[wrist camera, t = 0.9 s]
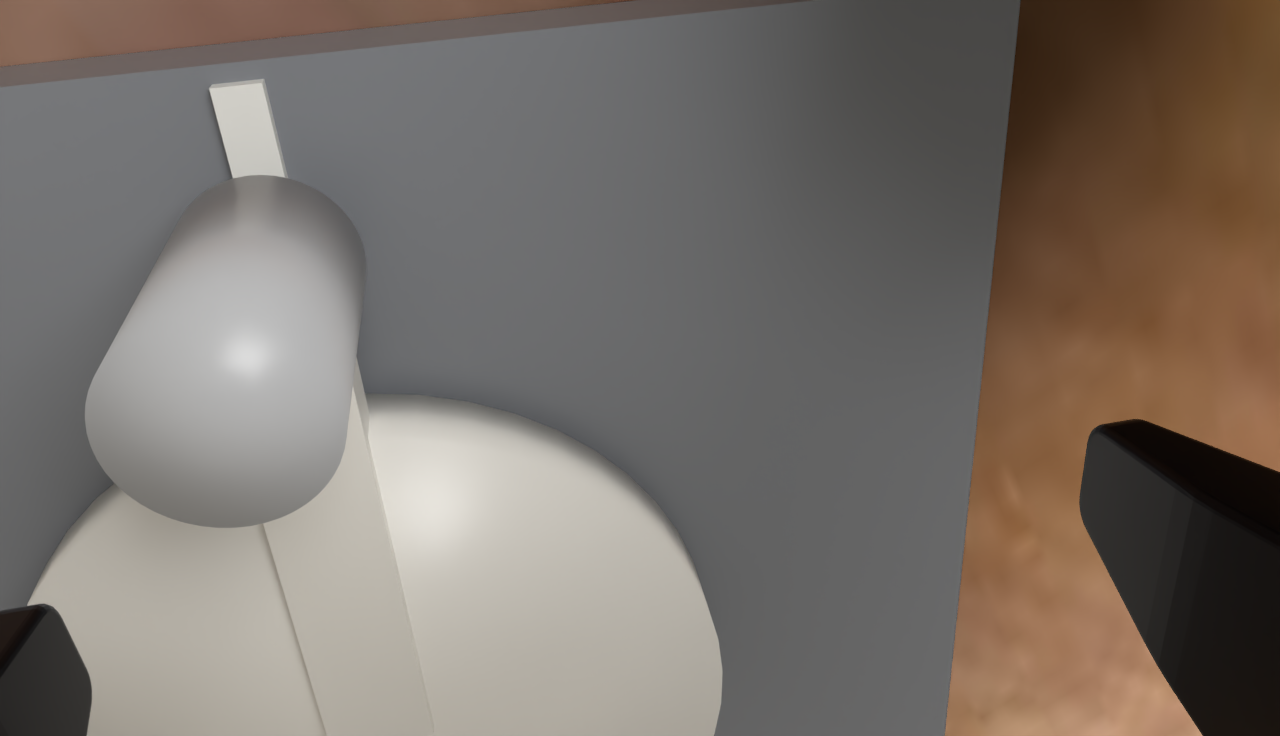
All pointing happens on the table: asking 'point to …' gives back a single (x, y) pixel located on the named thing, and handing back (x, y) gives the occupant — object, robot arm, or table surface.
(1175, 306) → the table surface
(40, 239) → the dial plate
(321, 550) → the dial
